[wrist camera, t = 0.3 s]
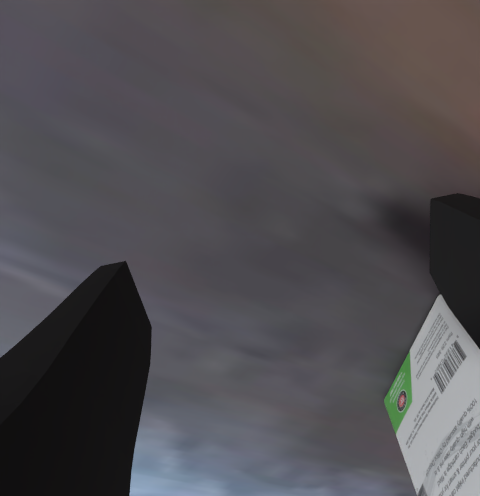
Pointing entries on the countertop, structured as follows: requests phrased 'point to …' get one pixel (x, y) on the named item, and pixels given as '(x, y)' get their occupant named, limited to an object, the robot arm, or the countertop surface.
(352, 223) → the countertop surface
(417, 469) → the ink box
